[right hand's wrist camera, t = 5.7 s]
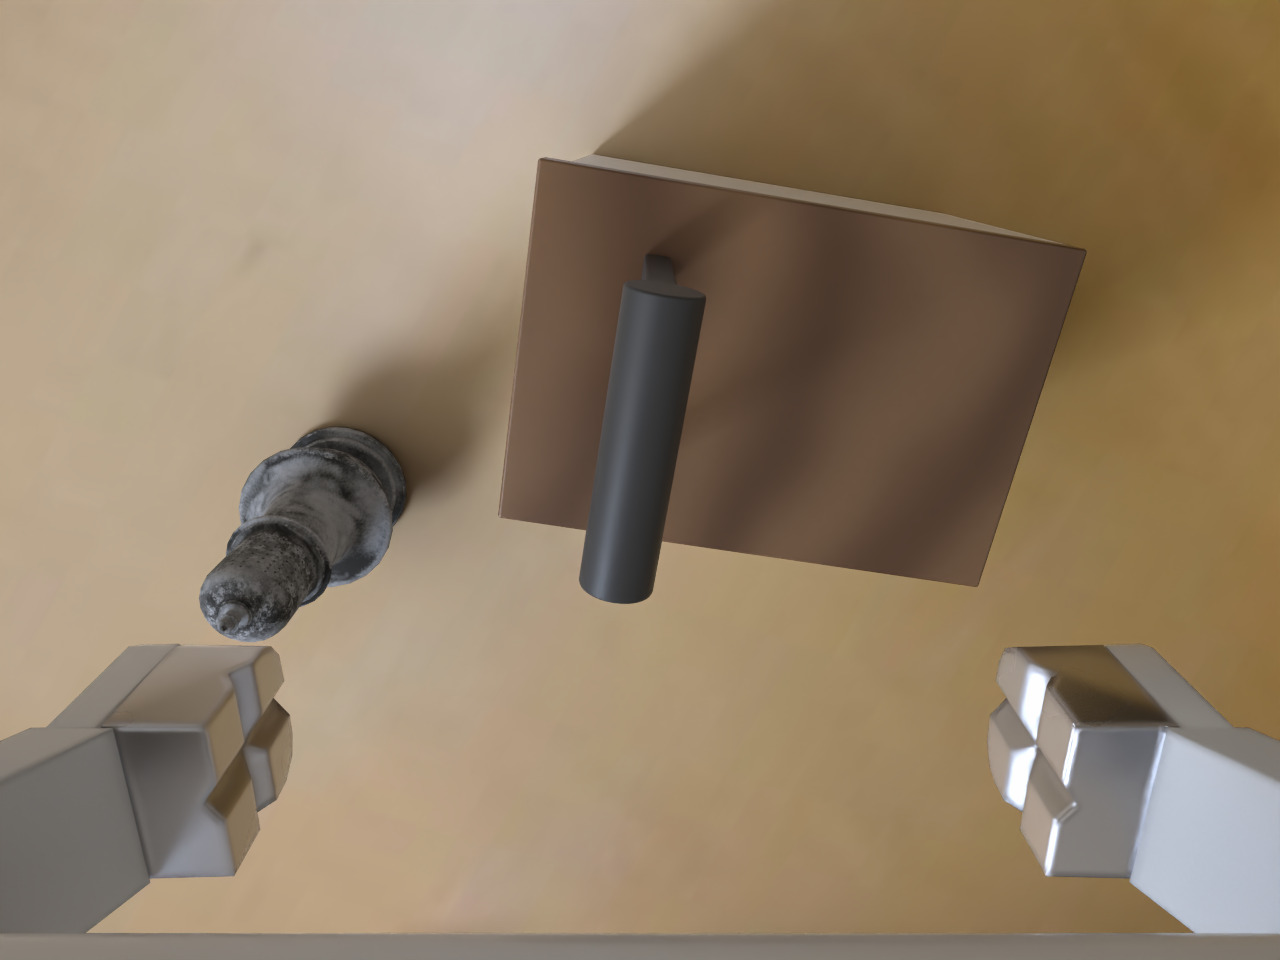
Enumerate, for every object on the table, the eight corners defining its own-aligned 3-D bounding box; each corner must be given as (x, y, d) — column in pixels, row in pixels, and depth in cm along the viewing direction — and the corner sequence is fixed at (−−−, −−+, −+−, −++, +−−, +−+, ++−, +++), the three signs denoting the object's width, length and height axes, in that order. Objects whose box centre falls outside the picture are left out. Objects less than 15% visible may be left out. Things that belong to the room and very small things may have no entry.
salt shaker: (297, 397, 37) (148, 510, 26) (433, 454, 38) (346, 588, 27) (256, 517, 39) (101, 671, 28) (386, 569, 40) (287, 739, 29)
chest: (557, 407, 37) (526, 505, 27) (590, 154, 34) (569, 161, 24) (880, 456, 38) (965, 570, 28) (945, 213, 35) (1068, 244, 25)
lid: (503, 502, 27) (446, 653, 19) (542, 156, 24) (494, 166, 16) (965, 570, 28) (1093, 741, 20) (1069, 245, 25) (1272, 296, 17)
